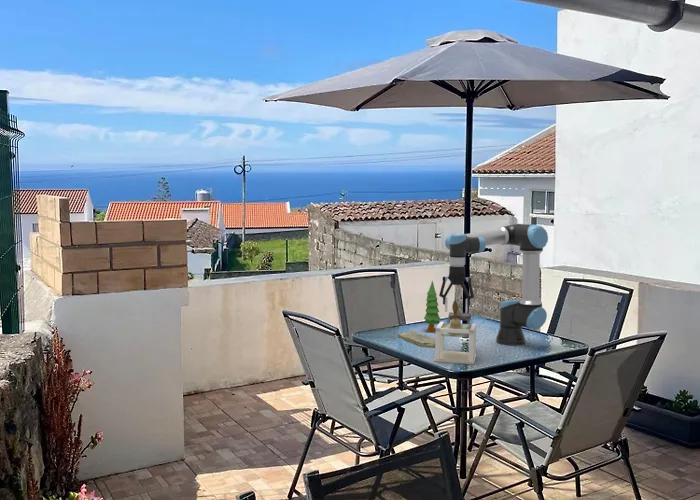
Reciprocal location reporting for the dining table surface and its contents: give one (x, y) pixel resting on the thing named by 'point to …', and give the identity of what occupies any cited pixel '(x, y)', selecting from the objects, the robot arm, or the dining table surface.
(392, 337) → the dining table surface
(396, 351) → the dining table surface
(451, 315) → the trapdoor
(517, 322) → the robot arm
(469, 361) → the frame
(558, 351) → the dining table surface
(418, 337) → the stone slab
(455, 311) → the hand bell
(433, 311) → the decorative tree
